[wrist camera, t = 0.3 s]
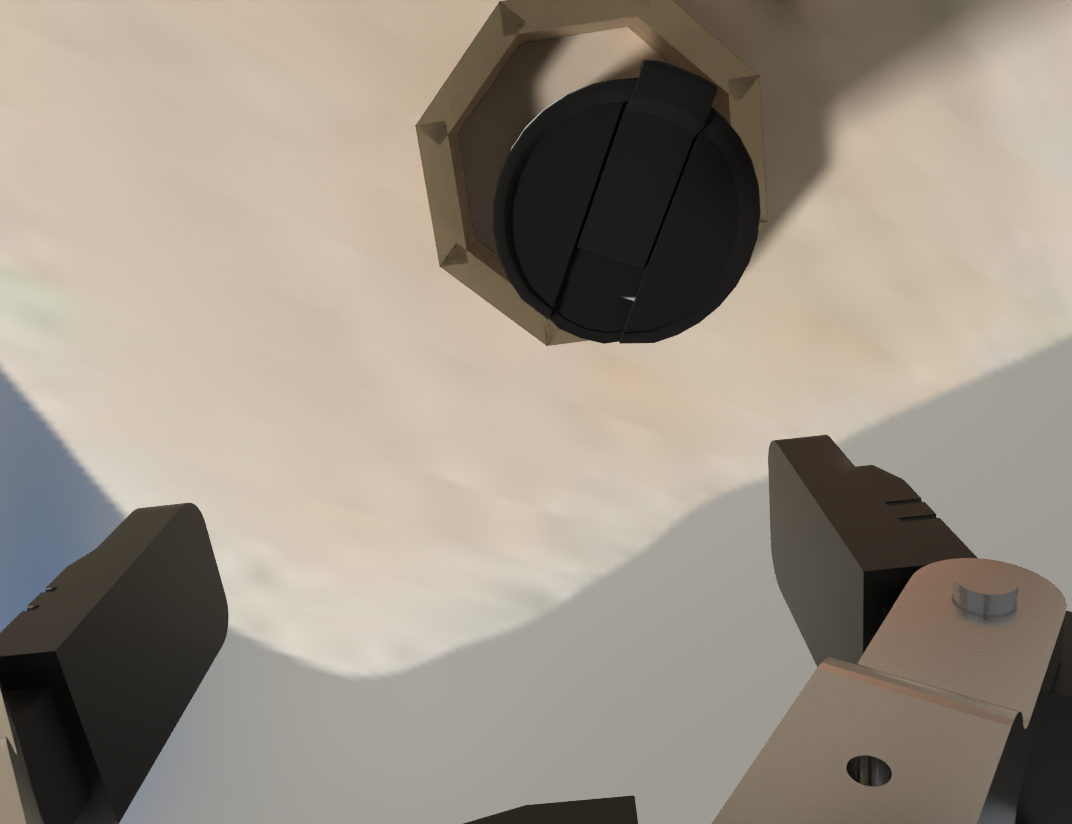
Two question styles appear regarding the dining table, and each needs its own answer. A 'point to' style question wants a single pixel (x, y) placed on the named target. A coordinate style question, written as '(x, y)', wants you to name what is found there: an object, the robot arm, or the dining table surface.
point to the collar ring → (527, 15)
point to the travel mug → (628, 208)
